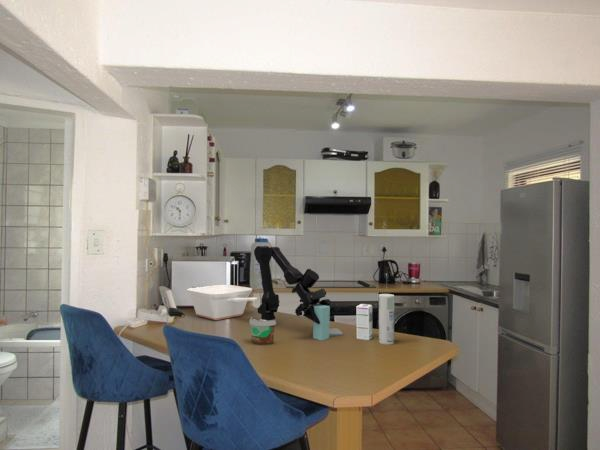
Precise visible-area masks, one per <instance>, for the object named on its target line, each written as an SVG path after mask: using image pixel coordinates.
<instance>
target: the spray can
mask: <svg viewBox="0 0 600 450" xmlns="http://www.w3.org/2000/svg"><path fill="white" fill-rule="evenodd" d="M378 343H379V344H381V345H392V344H394V343H395V295H394V294H391V293H380V294H378Z"/></svg>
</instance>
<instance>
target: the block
mask: <svg viewBox="0 0 600 450" xmlns="http://www.w3.org/2000/svg"><path fill="white" fill-rule="evenodd" d="M330 310H331V307H330V305H329V306H325V305H317V306H314V312H315V314H316V316H317V317H318V319H319V321H320V324H317V323H315V322H314V321H312V323H313V324H312V325H313V326H312V329H313V330H312V339H315V340H318V341H324V340H325V341H326V340H329V339H330V336H329V329H330V320H331V319H330V318H331V317H330V316H331V315H330V314H331V313H330V312H331V311H330Z"/></svg>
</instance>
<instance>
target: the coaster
mask: <svg viewBox="0 0 600 450" xmlns="http://www.w3.org/2000/svg"><path fill="white" fill-rule="evenodd" d="M332 336H333V337H334V336H344V333H343V331H342V330H340V329H339V328H333V327H332V328H329V337H332Z"/></svg>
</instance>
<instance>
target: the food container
mask: <svg viewBox="0 0 600 450" xmlns="http://www.w3.org/2000/svg"><path fill="white" fill-rule="evenodd" d="M248 323H249V325H250V328H251V329H250V330H251V331H250V334H251V342H252V344H253V345H256V346H257V345H258V346H267V345H272V344H274V337H275V326H276V325H277V321H276V319H275V320H270V321H268V320H265V319H261V318H260V319H258V318H257V319H256V318H254V317H253V316H251V317H250V319H249V322H248Z"/></svg>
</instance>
